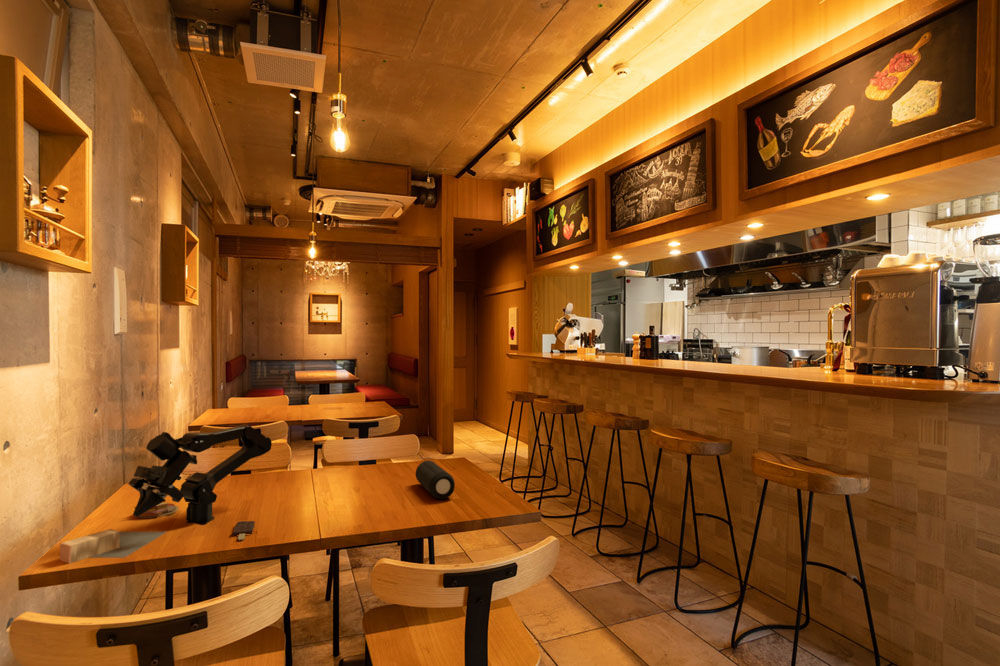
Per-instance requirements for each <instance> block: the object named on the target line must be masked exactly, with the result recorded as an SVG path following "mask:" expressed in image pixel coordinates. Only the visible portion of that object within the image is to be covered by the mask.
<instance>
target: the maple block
mask: <svg viewBox="0 0 1000 666" xmlns="http://www.w3.org/2000/svg"><path fill="white" fill-rule="evenodd" d="M120 532H121V531H120V530H117V529H112V528H108V529H105V530H101V531H98V532H95V533H91V534H87V535H84V536H81V537H76V538H74V539H70V540H66V541H62V542H60V543H59V560H60V561H61V562H64V563H67V564H72V563H75V562H78V561H83V560H85V559H88V557H92V556H95V555H98V554H101V553H104V552H107V551H111V550H114V549H117V548H119V535H120Z"/></svg>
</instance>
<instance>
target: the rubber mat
mask: <svg viewBox="0 0 1000 666" xmlns="http://www.w3.org/2000/svg"><path fill="white" fill-rule="evenodd" d="M119 532H120V535H119V548H117V549H114V550H111V551H107V552H104V553H101V554H98V555H95V556H92V557H88V558H92V559H93V558H94V559H98V558H101V559H102V558H105V559H106V558H111V559H112V558H119V559H120V558H123V559H124V558H126V557H128V556H130V555H132V554H134V553H135V552H137V551H138V550H140V549H142V548H143V547H144V546H147V545H148V544H149V543H151V542H153V541H155V540H156V539H158V538H159V537H162V536H163V535H165V534H166V533H167V531H119ZM88 558H87V559H88Z"/></svg>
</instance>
